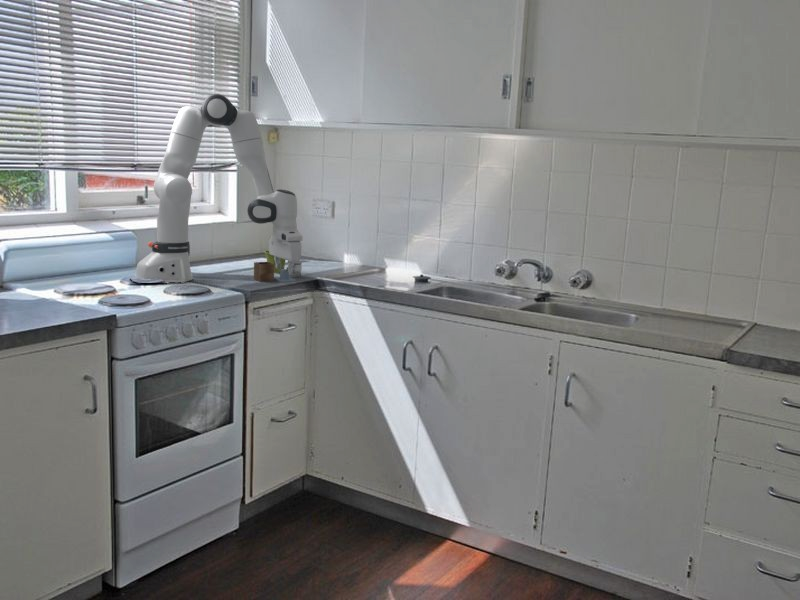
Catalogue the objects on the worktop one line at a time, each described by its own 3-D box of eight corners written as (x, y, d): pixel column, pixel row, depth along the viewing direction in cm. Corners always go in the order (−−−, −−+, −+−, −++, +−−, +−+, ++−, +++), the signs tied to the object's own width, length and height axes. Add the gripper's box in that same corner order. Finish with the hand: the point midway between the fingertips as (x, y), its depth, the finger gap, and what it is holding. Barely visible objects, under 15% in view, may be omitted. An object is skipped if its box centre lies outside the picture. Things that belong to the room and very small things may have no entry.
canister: (260, 283, 314) (260, 264, 313) (253, 280, 319) (254, 262, 317) (273, 282, 317) (274, 263, 316) (267, 279, 322) (267, 261, 321)
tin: (291, 279, 325) (292, 263, 324) (285, 277, 329) (286, 261, 328) (303, 278, 328) (304, 262, 327) (297, 276, 332) (298, 260, 331)
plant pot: (290, 272, 342) (290, 250, 340) (284, 275, 333) (285, 254, 331) (267, 270, 343) (267, 249, 341) (261, 274, 333) (261, 252, 332)
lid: (280, 284, 315) (280, 271, 314) (272, 281, 320) (272, 268, 320) (296, 283, 319) (296, 270, 318) (288, 280, 324) (288, 267, 323)
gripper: (265, 230, 323) (264, 266, 325) (289, 237, 306) (288, 275, 309) (280, 230, 326) (279, 265, 329) (304, 236, 309) (303, 274, 312)
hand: (283, 270), depth 319 cm, fingers open, 8 cm apart
